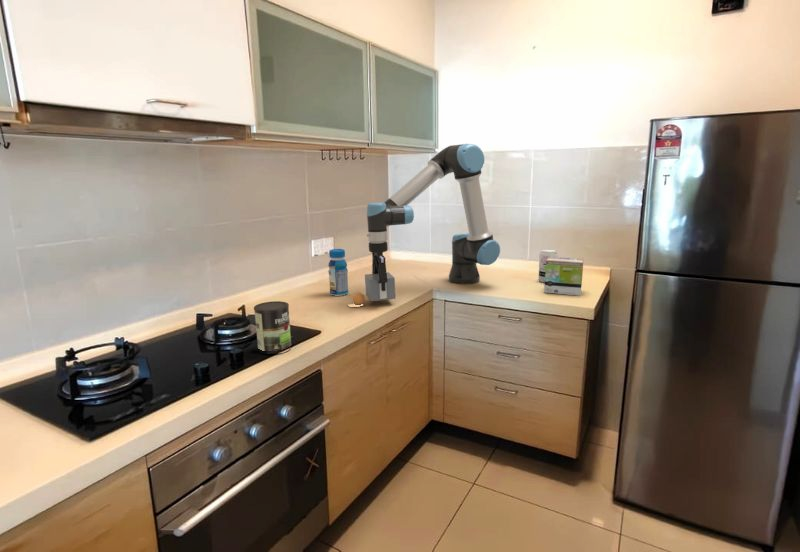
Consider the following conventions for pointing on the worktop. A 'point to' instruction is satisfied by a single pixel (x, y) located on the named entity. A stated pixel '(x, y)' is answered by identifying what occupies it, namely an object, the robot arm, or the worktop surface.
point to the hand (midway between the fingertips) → (380, 294)
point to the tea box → (563, 275)
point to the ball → (358, 299)
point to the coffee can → (272, 326)
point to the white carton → (542, 262)
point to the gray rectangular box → (373, 287)
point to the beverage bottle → (338, 272)
